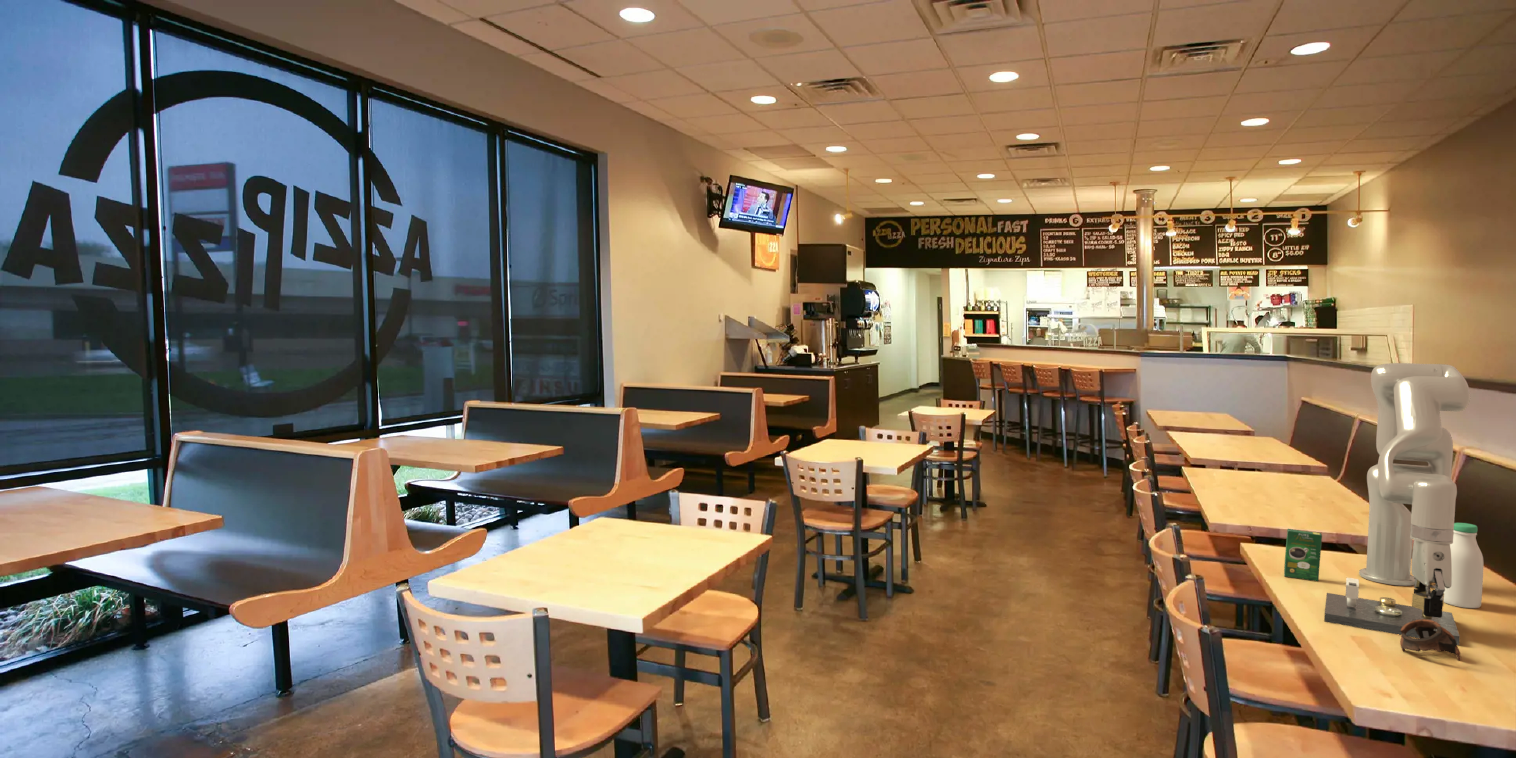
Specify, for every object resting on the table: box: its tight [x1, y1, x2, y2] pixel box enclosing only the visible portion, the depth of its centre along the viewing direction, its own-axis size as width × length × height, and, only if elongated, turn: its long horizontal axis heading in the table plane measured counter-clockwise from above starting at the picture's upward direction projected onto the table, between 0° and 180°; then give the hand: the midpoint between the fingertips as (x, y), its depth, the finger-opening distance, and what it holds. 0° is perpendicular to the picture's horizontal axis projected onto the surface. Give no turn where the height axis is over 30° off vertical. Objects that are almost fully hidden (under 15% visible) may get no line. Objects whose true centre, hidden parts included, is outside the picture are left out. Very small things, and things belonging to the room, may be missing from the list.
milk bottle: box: [1444, 522, 1484, 609], centre depth 203 cm, size 8×8×20 cm
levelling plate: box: [1323, 592, 1461, 646], centre depth 191 cm, size 18×24×4 cm
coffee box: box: [1283, 528, 1323, 582], centre depth 223 cm, size 8×3×13 cm, turn 58°
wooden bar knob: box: [1411, 589, 1445, 619], centre depth 187 cm, size 7×2×6 cm, turn 111°
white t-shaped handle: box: [1345, 577, 1360, 607], centre depth 195 cm, size 7×2×6 cm, turn 144°
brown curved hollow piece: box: [1399, 619, 1462, 662], centre depth 173 cm, size 12×10×8 cm
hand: (1427, 610), depth 187 cm, fingers closed on wooden bar knob, 6 cm apart
